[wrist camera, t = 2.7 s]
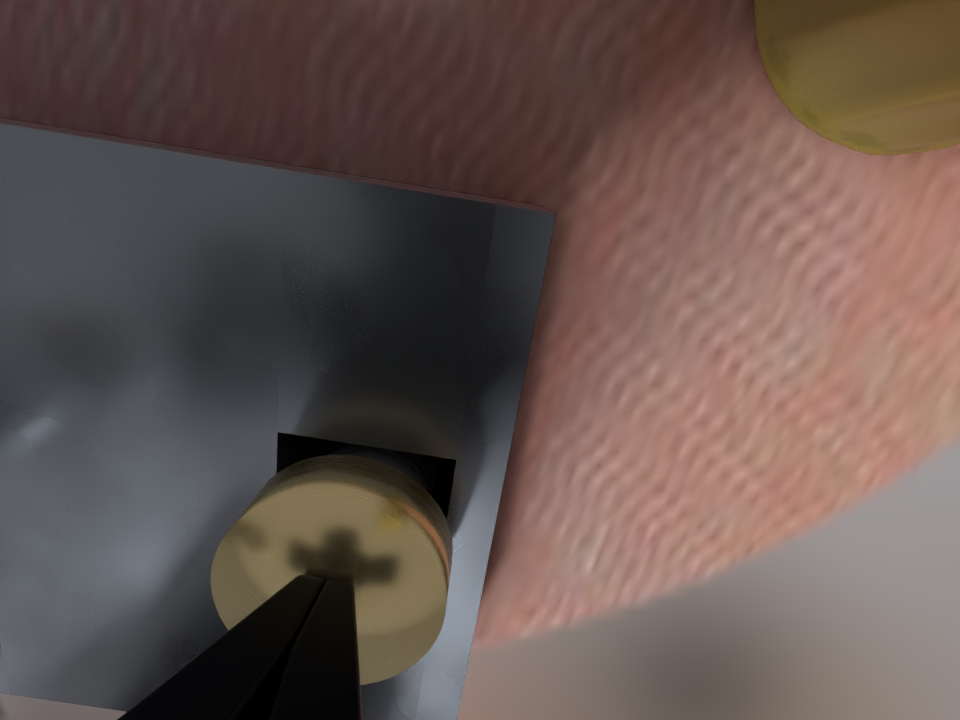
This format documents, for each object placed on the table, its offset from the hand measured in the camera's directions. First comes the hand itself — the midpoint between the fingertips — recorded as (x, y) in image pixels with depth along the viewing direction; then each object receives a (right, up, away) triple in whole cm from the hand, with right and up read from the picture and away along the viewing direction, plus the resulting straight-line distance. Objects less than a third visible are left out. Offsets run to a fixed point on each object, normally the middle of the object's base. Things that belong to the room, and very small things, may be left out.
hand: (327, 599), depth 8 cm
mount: (-4, +2, +5) cm, 7 cm away
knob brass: (0, +2, +5) cm, 5 cm away
